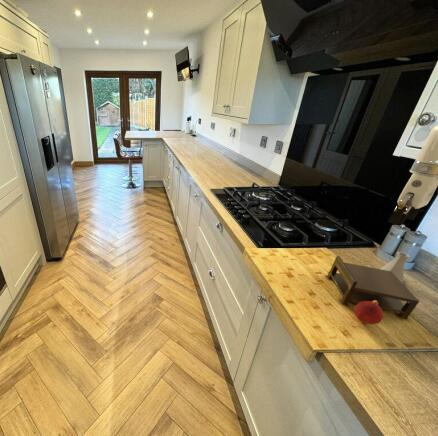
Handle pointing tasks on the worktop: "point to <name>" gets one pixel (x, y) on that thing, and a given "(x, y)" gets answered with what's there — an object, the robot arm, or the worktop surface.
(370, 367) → the worktop surface
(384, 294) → the wooden step stool
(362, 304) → the onion
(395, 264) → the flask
